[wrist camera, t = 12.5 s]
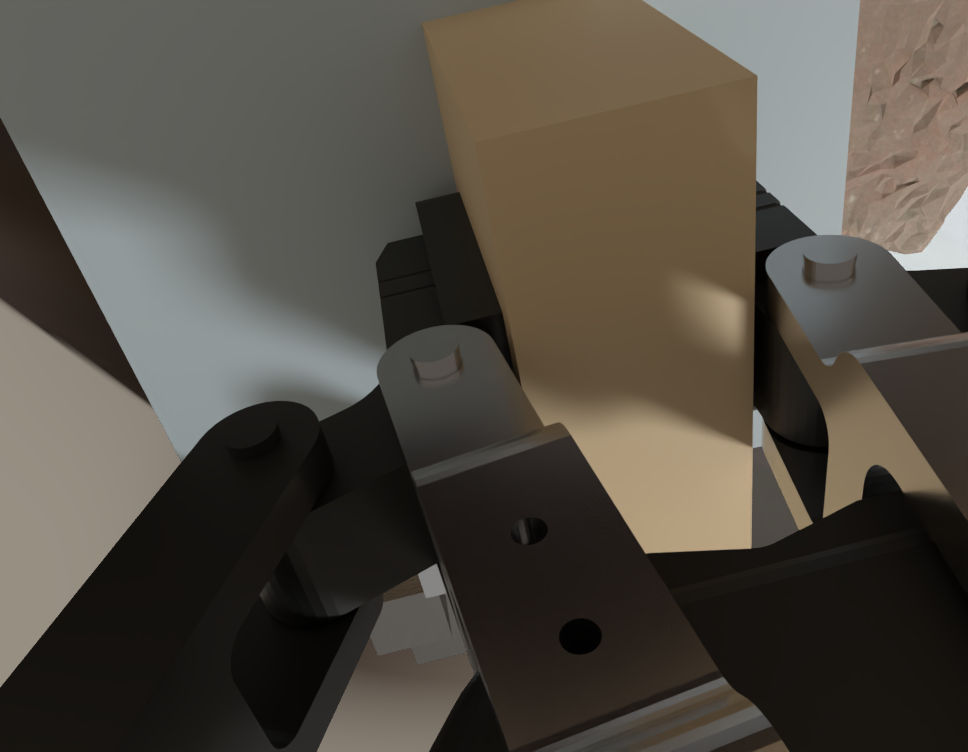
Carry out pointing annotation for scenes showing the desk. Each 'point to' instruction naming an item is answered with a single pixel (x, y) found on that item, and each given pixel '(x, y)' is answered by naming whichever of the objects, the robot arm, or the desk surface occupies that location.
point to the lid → (437, 172)
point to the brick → (907, 122)
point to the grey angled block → (417, 624)
